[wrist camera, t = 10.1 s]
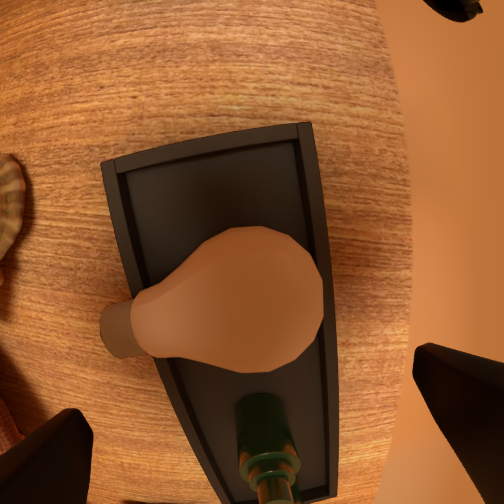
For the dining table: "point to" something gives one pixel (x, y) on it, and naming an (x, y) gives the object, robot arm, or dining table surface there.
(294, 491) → the bottle far
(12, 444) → the basket
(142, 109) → the dining table surface
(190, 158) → the tray
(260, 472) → the bottle near
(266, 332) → the light bulb
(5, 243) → the seashell
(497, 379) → the robot arm
